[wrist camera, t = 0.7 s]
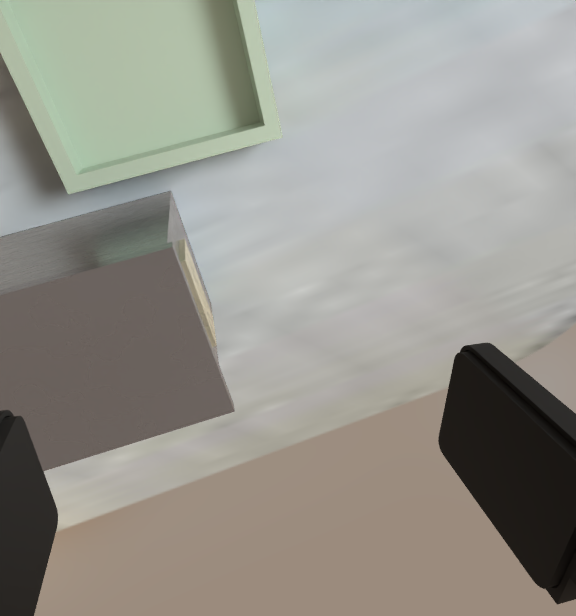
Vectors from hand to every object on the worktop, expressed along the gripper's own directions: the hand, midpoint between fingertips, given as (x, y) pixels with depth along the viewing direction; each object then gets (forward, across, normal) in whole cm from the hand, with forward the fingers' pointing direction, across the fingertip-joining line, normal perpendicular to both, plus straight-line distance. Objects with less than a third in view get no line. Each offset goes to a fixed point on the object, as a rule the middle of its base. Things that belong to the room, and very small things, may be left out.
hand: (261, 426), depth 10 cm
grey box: (+20, +6, +4) cm, 21 cm away
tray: (+20, +3, -8) cm, 22 cm away
